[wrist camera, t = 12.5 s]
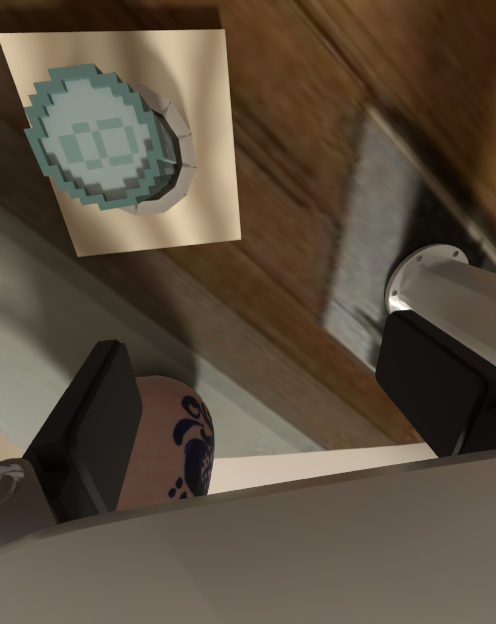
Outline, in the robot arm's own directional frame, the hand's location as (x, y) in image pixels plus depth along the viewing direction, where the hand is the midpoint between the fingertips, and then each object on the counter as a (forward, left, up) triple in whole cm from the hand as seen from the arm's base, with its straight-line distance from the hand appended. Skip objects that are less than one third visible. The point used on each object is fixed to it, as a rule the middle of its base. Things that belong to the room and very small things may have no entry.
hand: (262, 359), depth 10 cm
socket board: (+6, -8, -26) cm, 28 cm away
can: (+6, -8, -25) cm, 26 cm away
